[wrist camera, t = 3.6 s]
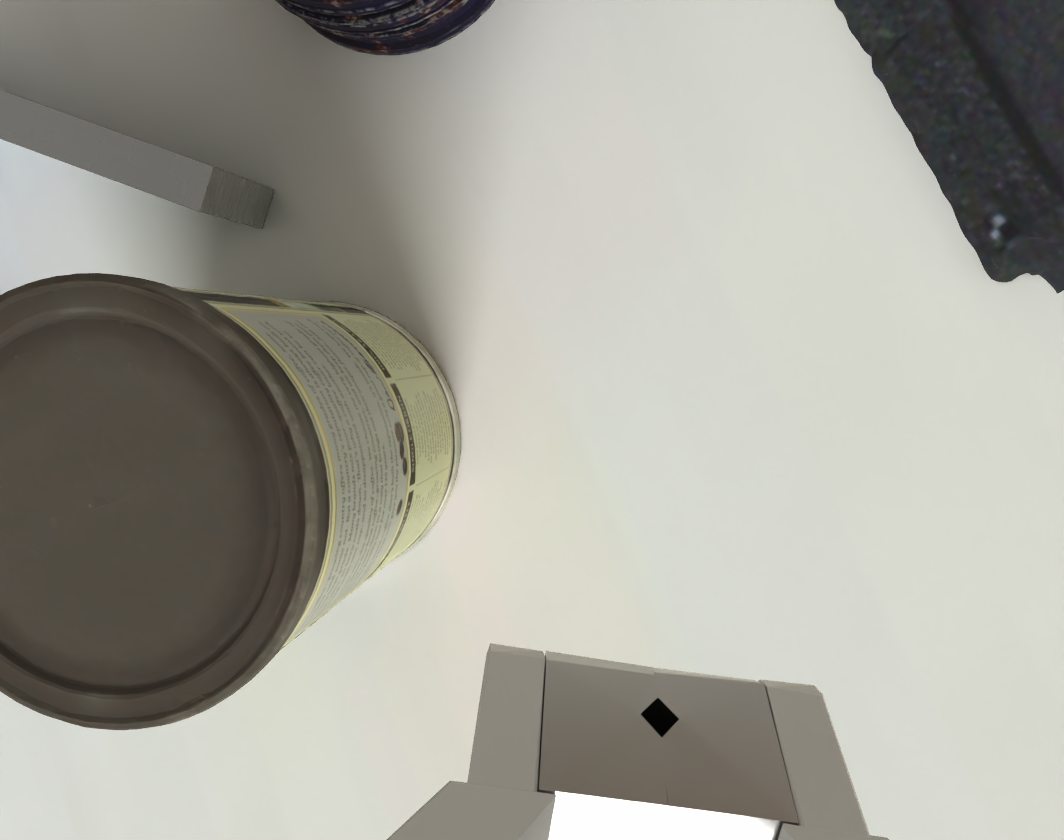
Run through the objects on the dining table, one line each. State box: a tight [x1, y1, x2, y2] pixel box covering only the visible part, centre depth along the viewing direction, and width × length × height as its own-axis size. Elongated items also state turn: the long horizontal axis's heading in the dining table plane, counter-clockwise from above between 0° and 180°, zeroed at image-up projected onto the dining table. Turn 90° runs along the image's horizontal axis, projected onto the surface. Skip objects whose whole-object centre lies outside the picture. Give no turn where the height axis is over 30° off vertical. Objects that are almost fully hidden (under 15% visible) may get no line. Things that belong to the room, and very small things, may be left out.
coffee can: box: [0, 273, 461, 730], centre depth 27 cm, size 10×10×14 cm
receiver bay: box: [0, 90, 274, 228], centre depth 33 cm, size 14×16×4 cm
